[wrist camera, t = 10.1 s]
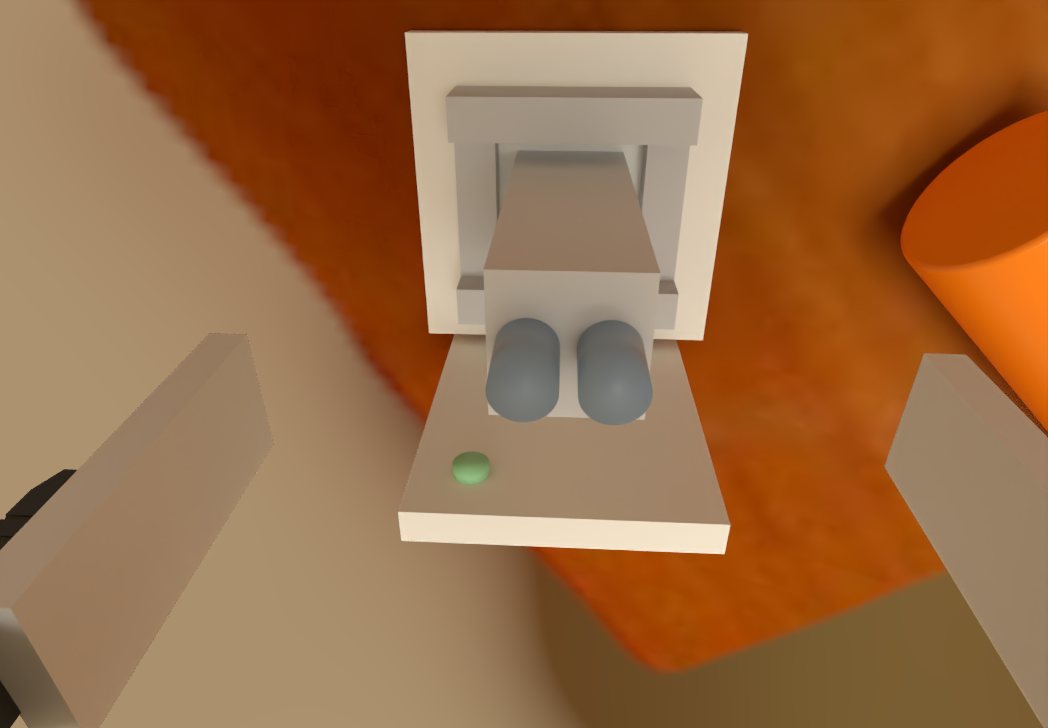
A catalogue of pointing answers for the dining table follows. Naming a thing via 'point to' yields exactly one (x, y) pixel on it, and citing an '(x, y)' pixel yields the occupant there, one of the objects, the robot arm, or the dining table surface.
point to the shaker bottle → (992, 251)
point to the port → (461, 251)
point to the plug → (570, 292)
